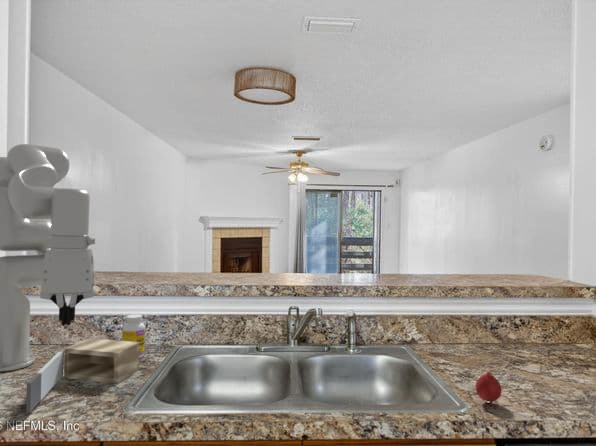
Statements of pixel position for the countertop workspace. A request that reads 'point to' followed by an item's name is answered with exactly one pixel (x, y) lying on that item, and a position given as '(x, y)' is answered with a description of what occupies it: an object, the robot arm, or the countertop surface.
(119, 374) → the cabinet
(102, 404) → the countertop surface
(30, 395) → the door
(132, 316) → the supplement bottle
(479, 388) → the onion
